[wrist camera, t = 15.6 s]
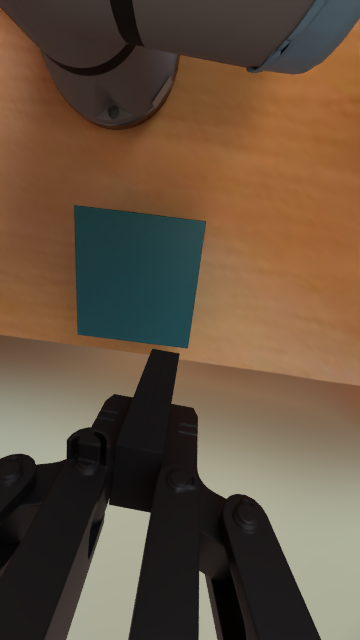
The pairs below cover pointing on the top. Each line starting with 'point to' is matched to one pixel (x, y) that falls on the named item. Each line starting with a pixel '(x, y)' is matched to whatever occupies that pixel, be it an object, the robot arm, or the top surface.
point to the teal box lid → (136, 275)
